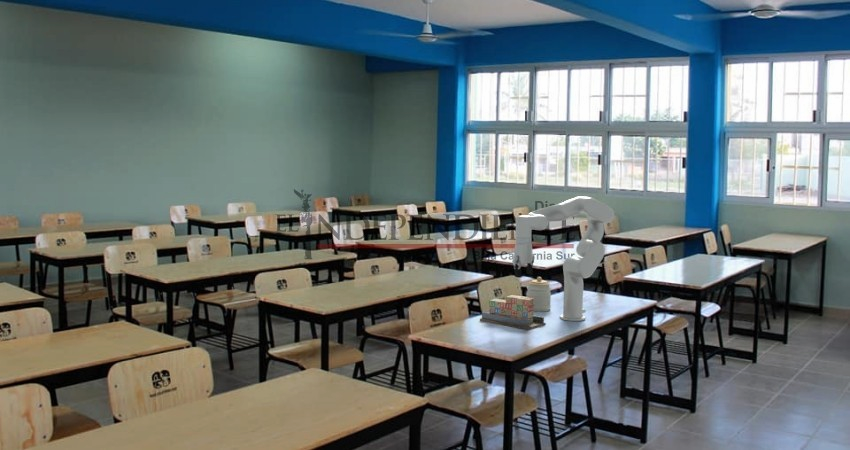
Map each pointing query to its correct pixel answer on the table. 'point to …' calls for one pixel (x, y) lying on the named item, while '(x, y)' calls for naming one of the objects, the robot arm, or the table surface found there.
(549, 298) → the jar
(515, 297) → the stack of blocks
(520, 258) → the robot arm
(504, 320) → the track
